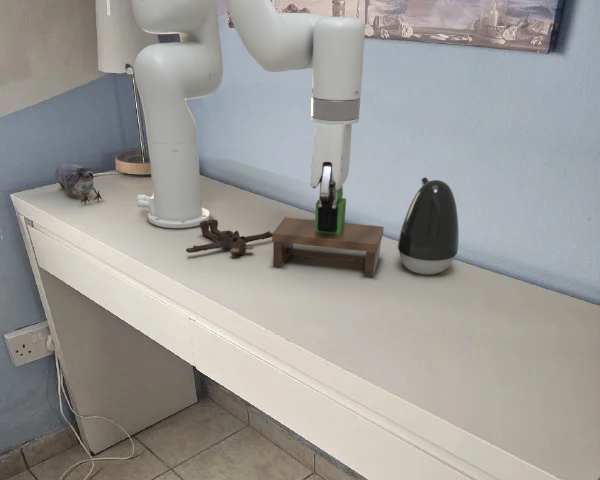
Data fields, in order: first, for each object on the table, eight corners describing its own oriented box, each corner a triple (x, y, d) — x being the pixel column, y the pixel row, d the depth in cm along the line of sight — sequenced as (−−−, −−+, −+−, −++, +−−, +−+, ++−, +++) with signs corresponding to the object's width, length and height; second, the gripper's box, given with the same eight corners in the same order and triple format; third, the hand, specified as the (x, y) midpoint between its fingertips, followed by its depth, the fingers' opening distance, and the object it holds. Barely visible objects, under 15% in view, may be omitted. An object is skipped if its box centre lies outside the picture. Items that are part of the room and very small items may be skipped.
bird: (73, 186, 145) (67, 154, 141) (106, 201, 136) (100, 167, 132) (51, 190, 142) (44, 157, 138) (83, 206, 133) (77, 171, 129)
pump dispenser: (439, 256, 114) (452, 171, 105) (463, 278, 105) (480, 187, 97) (386, 259, 112) (396, 173, 103) (407, 282, 103) (419, 190, 95)
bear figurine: (248, 211, 123) (286, 225, 112) (249, 233, 125) (287, 248, 114) (163, 225, 115) (195, 242, 104) (166, 248, 117) (198, 267, 106)
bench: (271, 266, 108) (271, 233, 104) (284, 249, 115) (284, 217, 111) (374, 278, 104) (377, 243, 101) (380, 259, 112) (383, 226, 108)
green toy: (314, 232, 105) (316, 182, 100) (319, 224, 108) (321, 176, 104) (340, 235, 104) (343, 185, 99) (344, 227, 108) (347, 178, 103)
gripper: (322, 100, 103) (318, 210, 113) (299, 118, 89) (297, 240, 100) (366, 103, 102) (358, 213, 112) (350, 121, 88) (343, 244, 98)
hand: (329, 225), depth 106 cm, fingers closed on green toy, 4 cm apart
